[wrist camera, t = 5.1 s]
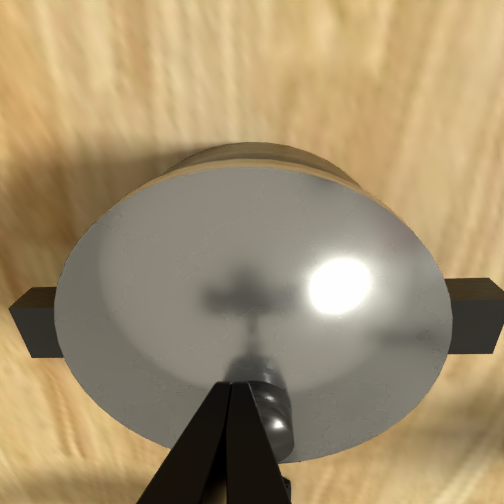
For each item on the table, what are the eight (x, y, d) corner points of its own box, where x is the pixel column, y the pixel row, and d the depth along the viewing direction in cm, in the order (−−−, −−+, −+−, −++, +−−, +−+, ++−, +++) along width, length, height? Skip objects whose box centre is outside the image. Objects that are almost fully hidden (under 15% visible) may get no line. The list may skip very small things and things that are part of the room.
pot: (420, 392, 24) (455, 463, 20) (109, 393, 25) (75, 459, 21) (489, 131, 16) (576, 151, 11) (23, 152, 17) (-62, 177, 13)
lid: (402, 443, 19) (424, 504, 16) (120, 442, 20) (98, 499, 17) (489, 148, 11) (560, 174, 8) (6, 168, 12) (-68, 198, 9)
